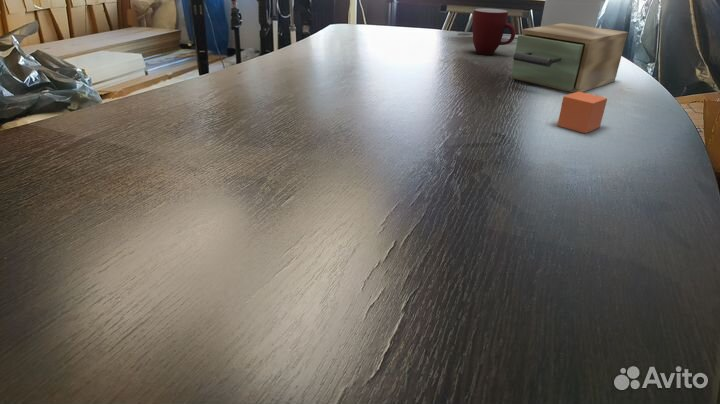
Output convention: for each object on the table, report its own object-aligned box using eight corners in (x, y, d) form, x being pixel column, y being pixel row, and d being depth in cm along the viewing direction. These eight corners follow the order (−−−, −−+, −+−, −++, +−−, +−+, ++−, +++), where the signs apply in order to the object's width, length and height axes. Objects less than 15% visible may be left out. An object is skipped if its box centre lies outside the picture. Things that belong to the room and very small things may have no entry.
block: (599, 127, 75) (607, 97, 73) (585, 133, 72) (593, 103, 70) (571, 119, 78) (578, 91, 75) (556, 125, 75) (563, 96, 73)
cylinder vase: (531, 55, 122) (552, -59, 111) (540, 47, 132) (560, -59, 121) (585, 61, 118) (613, -58, 106) (590, 53, 127) (616, -57, 116)
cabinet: (578, 93, 92) (590, 39, 87) (513, 78, 101) (522, 29, 96) (614, 81, 101) (627, 31, 97) (553, 68, 110) (562, 23, 105)
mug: (513, 53, 125) (520, 10, 120) (510, 59, 118) (517, 14, 114) (471, 49, 128) (476, 7, 123) (465, 54, 121) (471, 11, 117)
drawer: (556, 94, 87) (566, 48, 84) (496, 80, 95) (503, 37, 92) (605, 78, 99) (616, 37, 95) (548, 67, 107) (556, 29, 104)
